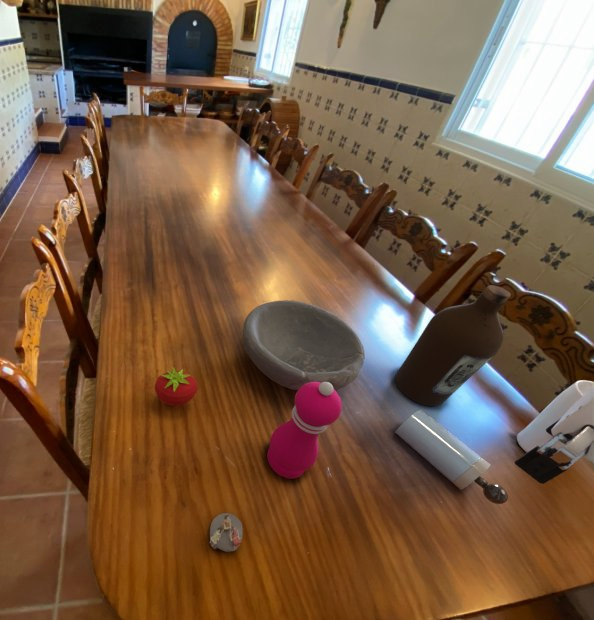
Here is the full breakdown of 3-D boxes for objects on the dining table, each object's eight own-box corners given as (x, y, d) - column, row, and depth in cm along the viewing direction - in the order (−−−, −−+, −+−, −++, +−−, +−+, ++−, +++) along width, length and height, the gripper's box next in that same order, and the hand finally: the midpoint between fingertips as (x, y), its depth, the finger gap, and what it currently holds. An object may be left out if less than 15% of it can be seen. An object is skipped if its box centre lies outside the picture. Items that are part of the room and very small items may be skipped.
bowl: (342, 343, 82) (359, 310, 76) (351, 426, 65) (375, 392, 59) (242, 319, 86) (251, 286, 80) (227, 391, 69) (237, 356, 63)
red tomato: (195, 418, 64) (203, 383, 58) (154, 419, 63) (156, 384, 57) (191, 391, 69) (198, 356, 62) (152, 392, 68) (154, 356, 61)
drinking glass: (557, 447, 65) (632, 397, 55) (555, 473, 61) (635, 424, 51) (512, 423, 68) (575, 372, 58) (507, 446, 64) (574, 395, 54)
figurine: (228, 512, 52) (235, 494, 49) (248, 541, 50) (258, 524, 46) (199, 533, 50) (205, 516, 46) (219, 565, 47) (227, 550, 43)
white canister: (409, 423, 66) (501, 500, 57) (390, 437, 64) (482, 520, 54) (426, 404, 63) (528, 483, 53) (406, 418, 60) (509, 504, 50)
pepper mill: (262, 437, 62) (296, 359, 49) (304, 444, 62) (349, 367, 49) (265, 478, 57) (304, 402, 44) (311, 486, 56) (364, 412, 43)
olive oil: (380, 371, 76) (446, 274, 60) (420, 364, 78) (494, 269, 62) (417, 414, 68) (505, 315, 52) (460, 404, 71) (557, 308, 55)
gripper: (703, 440, 31) (551, 516, 42) (739, 367, 38) (602, 449, 49) (592, 378, 35) (482, 461, 46) (644, 324, 43) (538, 407, 54)
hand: (544, 454), depth 48 cm, fingers open, 9 cm apart
